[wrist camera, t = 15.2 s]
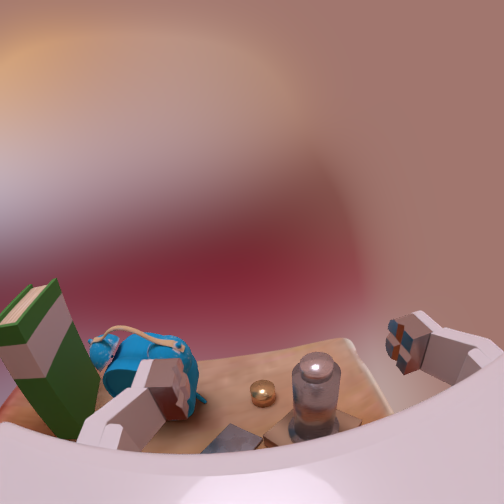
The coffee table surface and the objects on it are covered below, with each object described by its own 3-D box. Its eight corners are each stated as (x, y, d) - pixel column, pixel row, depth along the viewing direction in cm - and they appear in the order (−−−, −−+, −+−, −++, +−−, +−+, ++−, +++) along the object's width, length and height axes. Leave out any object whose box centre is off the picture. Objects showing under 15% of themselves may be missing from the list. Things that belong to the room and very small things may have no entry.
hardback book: (73, 380, 46) (28, 284, 39) (100, 377, 48) (56, 278, 40) (58, 438, 30) (-14, 329, 22) (90, 439, 32) (17, 324, 24)
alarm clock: (218, 392, 44) (192, 296, 38) (209, 436, 35) (170, 338, 28) (137, 387, 46) (99, 300, 40) (118, 424, 36) (65, 333, 30)
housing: (318, 458, 26) (325, 395, 22) (278, 434, 31) (270, 368, 27) (348, 423, 31) (360, 354, 26) (309, 405, 36) (309, 336, 31)
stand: (319, 478, 25) (320, 470, 24) (264, 445, 32) (262, 435, 31) (359, 430, 32) (362, 420, 31) (307, 406, 39) (307, 395, 38)
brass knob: (264, 411, 39) (262, 400, 38) (247, 400, 42) (244, 389, 41) (280, 397, 42) (279, 386, 41) (263, 387, 44) (261, 376, 43)
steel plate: (231, 478, 27) (230, 475, 27) (199, 459, 31) (197, 456, 30) (263, 441, 33) (262, 438, 33) (231, 427, 37) (230, 423, 36)
